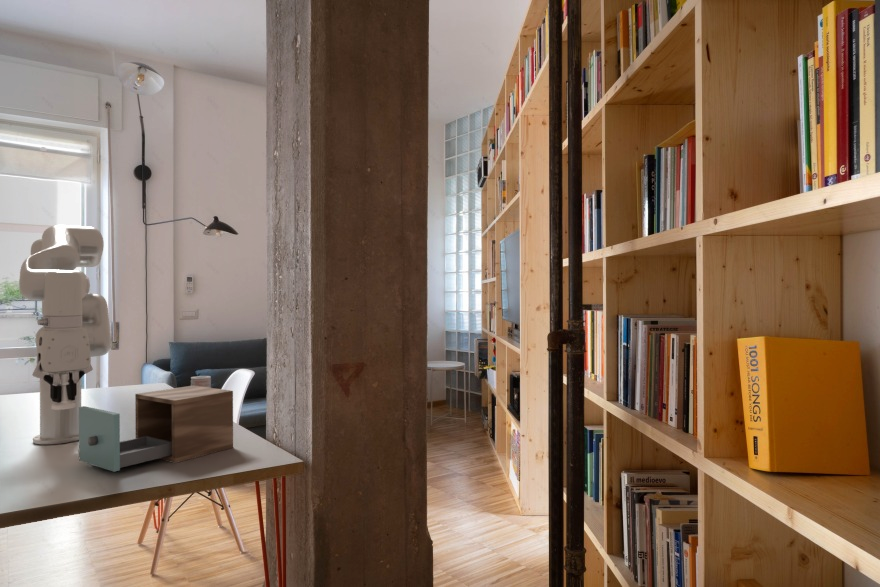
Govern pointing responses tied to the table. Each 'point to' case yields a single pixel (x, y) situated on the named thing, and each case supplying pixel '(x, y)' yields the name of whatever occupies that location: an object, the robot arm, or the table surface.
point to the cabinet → (187, 419)
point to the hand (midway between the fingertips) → (63, 400)
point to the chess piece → (63, 394)
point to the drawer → (114, 442)
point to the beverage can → (201, 381)
